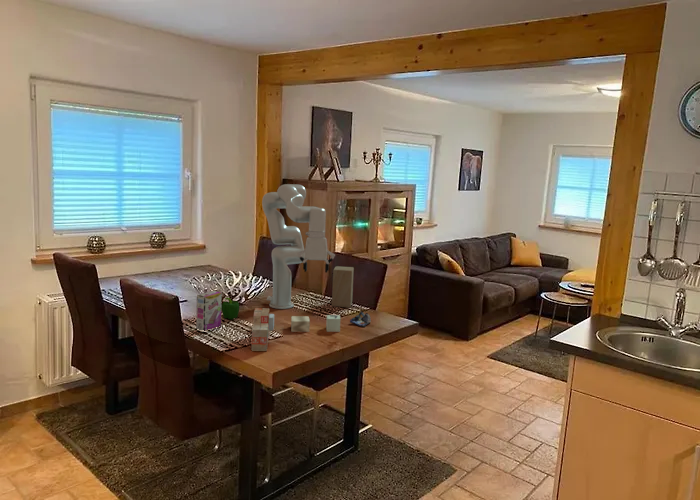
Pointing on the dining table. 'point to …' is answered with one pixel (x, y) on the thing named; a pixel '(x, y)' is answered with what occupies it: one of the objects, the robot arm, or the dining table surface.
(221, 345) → the dining table surface
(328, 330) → the sage numbered cube
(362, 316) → the snack package
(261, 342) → the stack of blocks
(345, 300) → the wooden block
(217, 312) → the candy bar box
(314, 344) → the dining table surface
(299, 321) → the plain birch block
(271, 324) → the grey-blue numbered cube
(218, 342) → the dining table surface
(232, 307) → the bell pepper
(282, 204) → the robot arm
